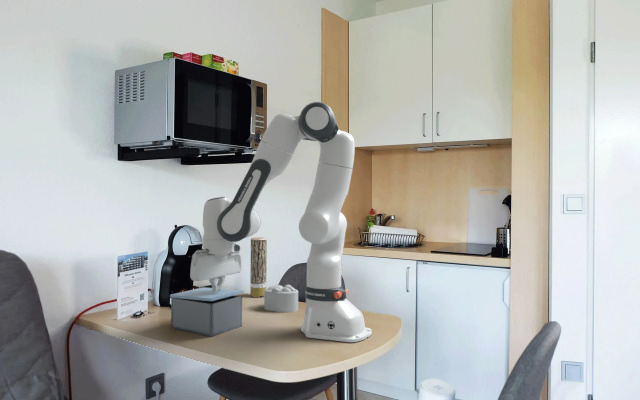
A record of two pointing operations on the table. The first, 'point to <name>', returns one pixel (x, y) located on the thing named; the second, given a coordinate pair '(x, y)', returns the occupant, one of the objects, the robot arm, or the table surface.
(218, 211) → the robot arm
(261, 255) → the paper tube
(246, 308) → the table surface
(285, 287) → the lumpy-topped squat cylinder
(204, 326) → the box
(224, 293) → the lid
